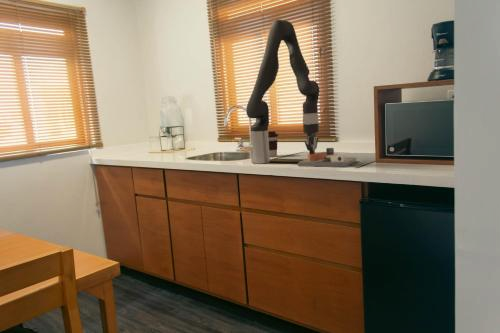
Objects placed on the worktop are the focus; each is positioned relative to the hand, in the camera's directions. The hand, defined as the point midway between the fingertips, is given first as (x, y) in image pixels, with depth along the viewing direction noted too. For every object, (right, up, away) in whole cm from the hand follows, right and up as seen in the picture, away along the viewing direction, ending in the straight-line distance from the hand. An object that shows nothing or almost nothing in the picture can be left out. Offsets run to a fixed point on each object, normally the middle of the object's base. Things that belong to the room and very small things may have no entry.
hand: (312, 158), depth 193 cm
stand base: (+8, -3, +1) cm, 8 cm away
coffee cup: (-18, +2, +46) cm, 49 cm away
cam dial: (+5, -1, 0) cm, 5 cm away
